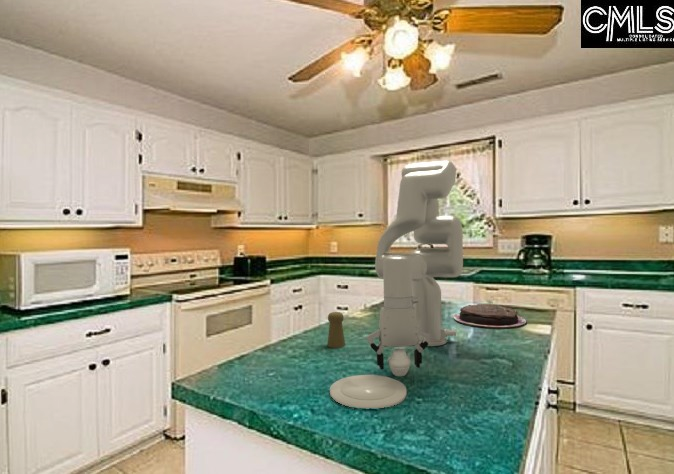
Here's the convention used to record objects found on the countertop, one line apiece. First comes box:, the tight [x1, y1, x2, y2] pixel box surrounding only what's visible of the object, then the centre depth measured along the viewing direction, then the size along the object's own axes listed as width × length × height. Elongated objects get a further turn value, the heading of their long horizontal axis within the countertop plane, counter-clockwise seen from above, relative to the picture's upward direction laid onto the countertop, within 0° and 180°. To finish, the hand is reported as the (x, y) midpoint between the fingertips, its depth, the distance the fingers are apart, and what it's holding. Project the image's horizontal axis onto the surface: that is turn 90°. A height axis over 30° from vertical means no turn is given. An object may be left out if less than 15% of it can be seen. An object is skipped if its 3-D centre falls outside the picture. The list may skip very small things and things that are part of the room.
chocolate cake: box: [452, 303, 527, 330], centre depth 166 cm, size 28×28×7 cm
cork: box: [326, 311, 346, 349], centre depth 136 cm, size 6×6×11 cm
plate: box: [329, 374, 407, 409], centre depth 96 cm, size 18×18×1 cm
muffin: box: [387, 348, 412, 377], centre depth 108 cm, size 6×6×7 cm
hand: (399, 367), depth 108 cm, fingers open, 9 cm apart
